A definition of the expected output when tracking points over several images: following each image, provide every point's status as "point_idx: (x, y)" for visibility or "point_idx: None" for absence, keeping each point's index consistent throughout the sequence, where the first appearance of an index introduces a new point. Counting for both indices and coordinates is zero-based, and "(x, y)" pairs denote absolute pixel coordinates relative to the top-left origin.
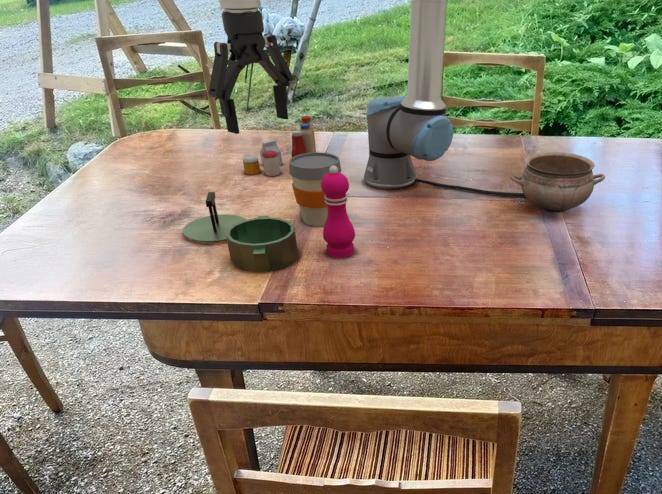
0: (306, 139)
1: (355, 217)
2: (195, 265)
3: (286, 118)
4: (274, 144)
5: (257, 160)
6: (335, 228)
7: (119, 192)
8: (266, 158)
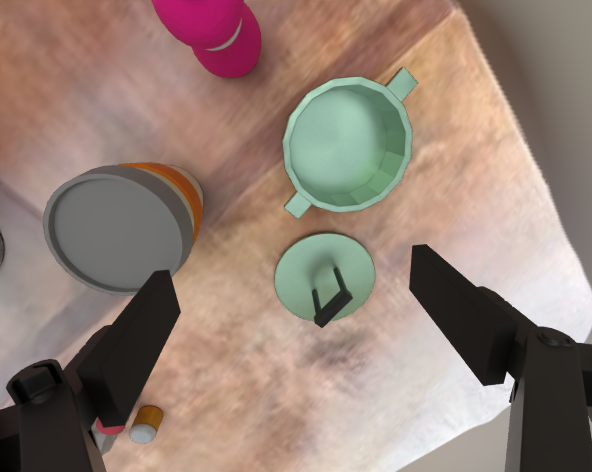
0: None
1: (111, 153)
2: (419, 204)
3: (163, 271)
4: None
5: (134, 425)
6: (245, 10)
7: (328, 452)
8: None
